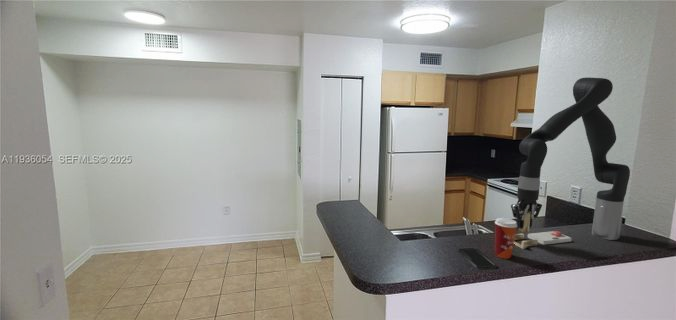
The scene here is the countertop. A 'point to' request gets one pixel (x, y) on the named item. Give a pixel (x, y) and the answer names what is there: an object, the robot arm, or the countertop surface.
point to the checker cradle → (548, 238)
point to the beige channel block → (524, 243)
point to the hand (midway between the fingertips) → (524, 227)
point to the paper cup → (504, 237)
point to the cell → (526, 222)
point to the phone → (477, 258)
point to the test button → (557, 233)
